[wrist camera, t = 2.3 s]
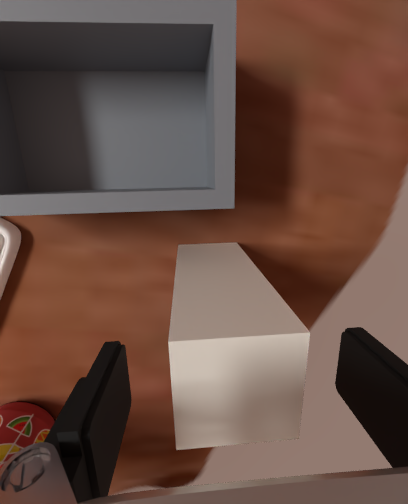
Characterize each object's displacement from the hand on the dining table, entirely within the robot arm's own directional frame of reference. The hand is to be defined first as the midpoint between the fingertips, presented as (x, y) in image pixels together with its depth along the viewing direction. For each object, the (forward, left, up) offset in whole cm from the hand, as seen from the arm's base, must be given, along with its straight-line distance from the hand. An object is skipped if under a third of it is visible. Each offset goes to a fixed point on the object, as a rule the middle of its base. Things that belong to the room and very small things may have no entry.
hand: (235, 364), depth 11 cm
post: (-1, 0, -10) cm, 10 cm away
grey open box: (-11, -6, -10) cm, 16 cm away
